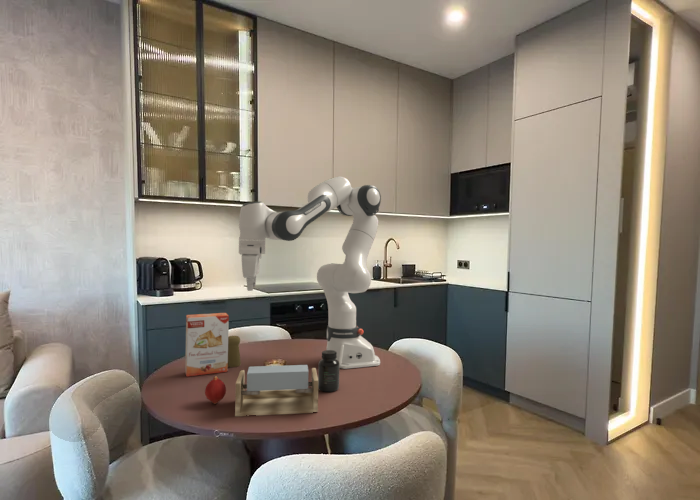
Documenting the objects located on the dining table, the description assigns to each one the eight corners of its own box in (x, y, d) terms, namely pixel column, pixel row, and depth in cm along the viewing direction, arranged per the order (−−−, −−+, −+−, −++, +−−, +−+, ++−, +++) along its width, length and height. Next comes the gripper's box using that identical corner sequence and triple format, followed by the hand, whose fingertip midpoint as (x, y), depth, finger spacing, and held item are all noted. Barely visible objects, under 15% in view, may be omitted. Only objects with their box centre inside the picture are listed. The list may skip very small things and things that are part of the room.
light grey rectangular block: (246, 391, 109) (247, 373, 109) (248, 383, 115) (249, 366, 115) (308, 388, 112) (308, 371, 112) (307, 381, 118) (307, 364, 118)
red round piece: (208, 399, 117) (208, 372, 117) (227, 399, 118) (228, 372, 117) (202, 407, 111) (202, 379, 111) (223, 407, 112) (223, 379, 112)
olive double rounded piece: (243, 362, 153) (243, 334, 153) (237, 367, 147) (237, 338, 146) (228, 361, 153) (228, 334, 153) (221, 366, 147) (222, 337, 147)
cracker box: (186, 377, 135) (187, 317, 135) (184, 372, 140) (185, 314, 140) (228, 372, 141) (229, 314, 141) (225, 367, 147) (226, 311, 146)
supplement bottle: (320, 384, 131) (320, 348, 131) (340, 385, 131) (341, 349, 130) (316, 392, 125) (316, 354, 124) (337, 393, 124) (338, 355, 124)
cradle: (315, 397, 120) (315, 367, 120) (317, 412, 110) (318, 380, 109) (240, 400, 117) (240, 370, 117) (235, 416, 106) (235, 383, 106)
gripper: (245, 247, 144) (245, 285, 145) (238, 249, 124) (238, 292, 124) (263, 248, 145) (262, 285, 146) (259, 249, 125) (258, 292, 125)
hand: (251, 288), depth 135 cm, fingers open, 8 cm apart
